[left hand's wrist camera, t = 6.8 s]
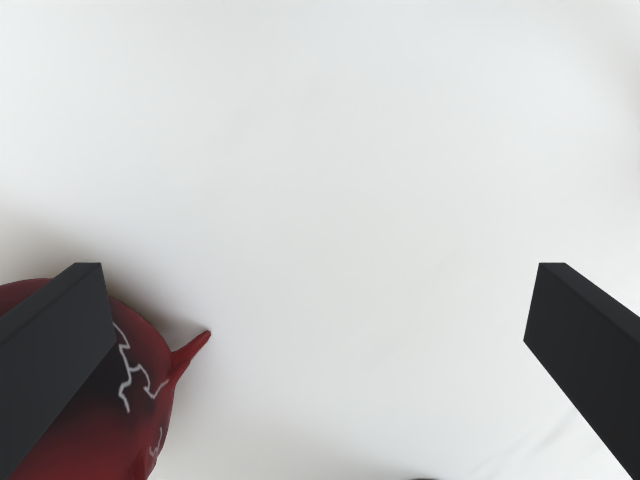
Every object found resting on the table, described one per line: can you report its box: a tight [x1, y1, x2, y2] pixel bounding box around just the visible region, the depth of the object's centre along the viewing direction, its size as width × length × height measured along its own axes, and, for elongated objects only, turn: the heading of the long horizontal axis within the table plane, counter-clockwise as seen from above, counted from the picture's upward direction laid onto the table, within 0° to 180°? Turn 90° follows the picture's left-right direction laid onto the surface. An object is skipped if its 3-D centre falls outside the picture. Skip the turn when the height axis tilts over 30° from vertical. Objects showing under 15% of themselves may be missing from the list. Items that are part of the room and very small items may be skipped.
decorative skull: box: [0, 278, 211, 480], centre depth 37 cm, size 21×24×25 cm
